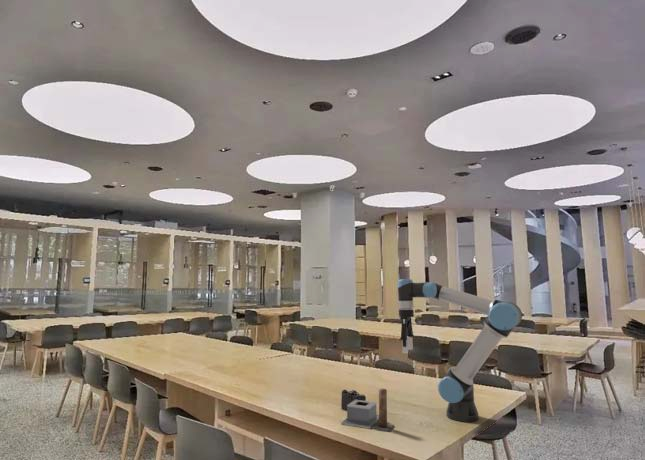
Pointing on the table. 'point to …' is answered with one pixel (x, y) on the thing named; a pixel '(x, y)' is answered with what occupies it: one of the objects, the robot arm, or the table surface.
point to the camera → (350, 398)
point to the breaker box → (361, 414)
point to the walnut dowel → (382, 408)
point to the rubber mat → (383, 428)
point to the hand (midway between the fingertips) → (407, 351)
